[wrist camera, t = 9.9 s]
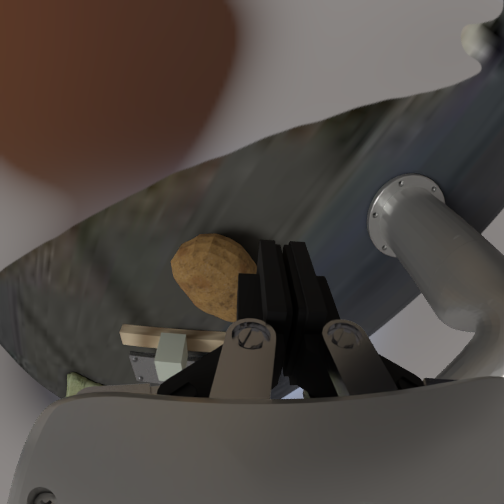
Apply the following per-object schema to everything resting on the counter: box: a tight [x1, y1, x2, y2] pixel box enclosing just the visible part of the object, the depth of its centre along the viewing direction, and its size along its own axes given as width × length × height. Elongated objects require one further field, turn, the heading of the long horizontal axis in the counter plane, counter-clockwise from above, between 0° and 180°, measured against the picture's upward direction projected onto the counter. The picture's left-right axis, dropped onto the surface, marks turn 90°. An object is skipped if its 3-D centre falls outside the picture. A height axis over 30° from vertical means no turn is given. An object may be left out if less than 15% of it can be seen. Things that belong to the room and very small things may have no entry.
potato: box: [171, 234, 257, 322], centre depth 40 cm, size 10×14×8 cm
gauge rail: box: [120, 324, 226, 352], centre depth 50 cm, size 25×12×8 cm, turn 86°
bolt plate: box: [129, 351, 201, 384], centre depth 55 cm, size 25×8×2 cm, turn 86°
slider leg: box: [154, 332, 188, 381], centre depth 49 cm, size 4×12×6 cm, turn 176°
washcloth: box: [66, 372, 104, 397], centre depth 62 cm, size 13×18×3 cm
